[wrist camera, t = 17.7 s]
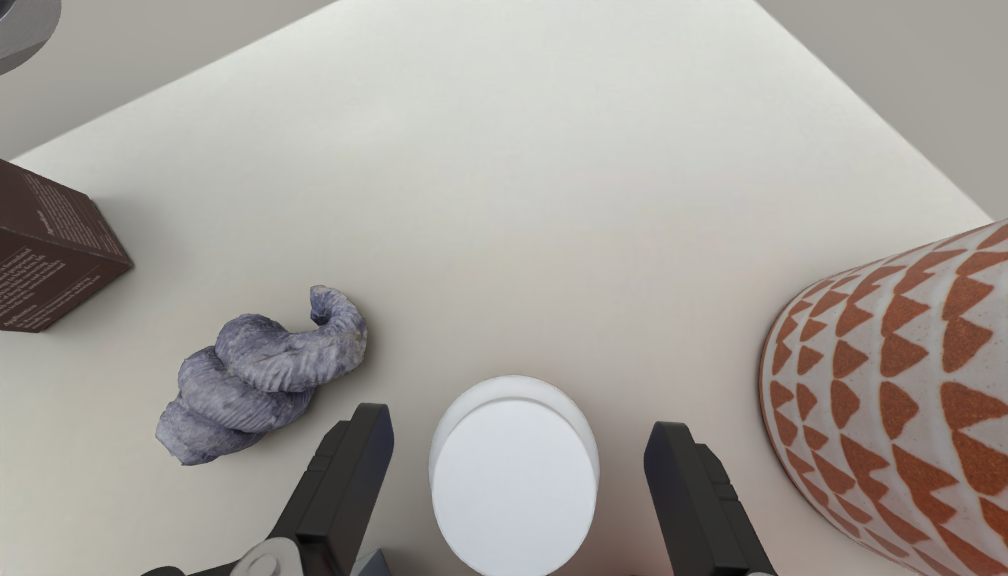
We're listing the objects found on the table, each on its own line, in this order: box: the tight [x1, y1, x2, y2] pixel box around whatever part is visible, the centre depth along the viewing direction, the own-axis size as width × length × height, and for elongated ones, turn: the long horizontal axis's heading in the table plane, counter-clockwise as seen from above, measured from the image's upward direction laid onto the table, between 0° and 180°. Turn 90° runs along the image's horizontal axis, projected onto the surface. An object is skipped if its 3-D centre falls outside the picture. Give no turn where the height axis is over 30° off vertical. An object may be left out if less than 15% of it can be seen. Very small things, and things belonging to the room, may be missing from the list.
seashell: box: [155, 285, 368, 466], centre depth 17 cm, size 5×5×10 cm
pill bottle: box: [428, 375, 600, 576], centre depth 13 cm, size 5×5×10 cm
